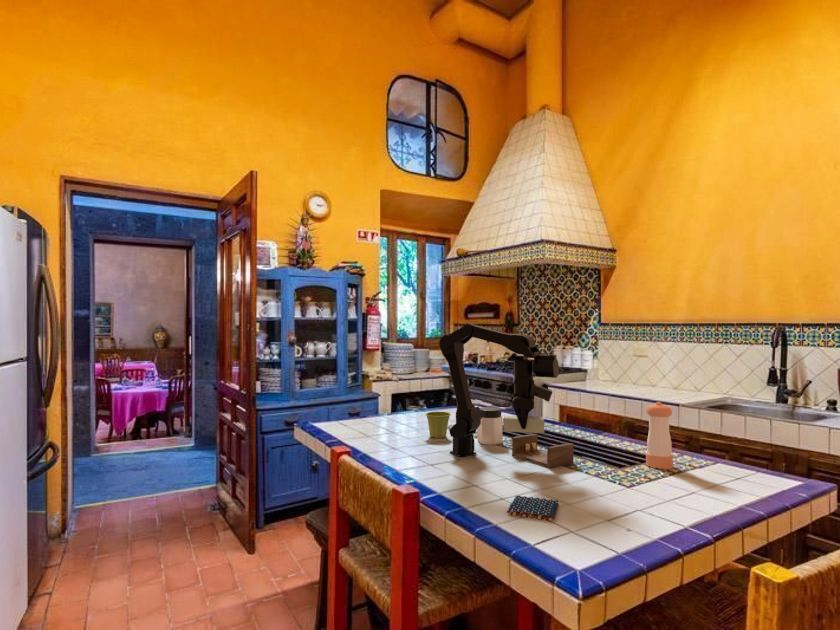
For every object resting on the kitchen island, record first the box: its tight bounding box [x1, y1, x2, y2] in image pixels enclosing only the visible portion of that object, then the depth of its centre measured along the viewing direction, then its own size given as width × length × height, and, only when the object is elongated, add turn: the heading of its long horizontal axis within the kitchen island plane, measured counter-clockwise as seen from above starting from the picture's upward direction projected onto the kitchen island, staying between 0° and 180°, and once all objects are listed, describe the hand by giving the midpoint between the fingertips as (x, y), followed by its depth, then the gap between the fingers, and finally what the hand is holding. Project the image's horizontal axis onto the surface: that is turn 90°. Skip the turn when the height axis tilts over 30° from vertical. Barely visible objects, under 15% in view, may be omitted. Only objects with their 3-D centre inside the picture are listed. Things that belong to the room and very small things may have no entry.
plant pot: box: [425, 411, 451, 439], centre depth 189 cm, size 9×9×9 cm
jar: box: [477, 406, 503, 446], centre depth 181 cm, size 9×8×12 cm
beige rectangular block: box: [502, 415, 545, 434], centre depth 153 cm, size 12×4×4 cm, turn 77°
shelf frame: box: [511, 433, 575, 469], centre depth 158 cm, size 16×10×6 cm, turn 32°
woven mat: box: [506, 494, 560, 522], centre depth 115 cm, size 10×11×2 cm
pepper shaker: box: [645, 401, 674, 470], centre depth 151 cm, size 7×7×19 cm
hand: (523, 427), depth 153 cm, fingers closed on beige rectangular block, 4 cm apart
